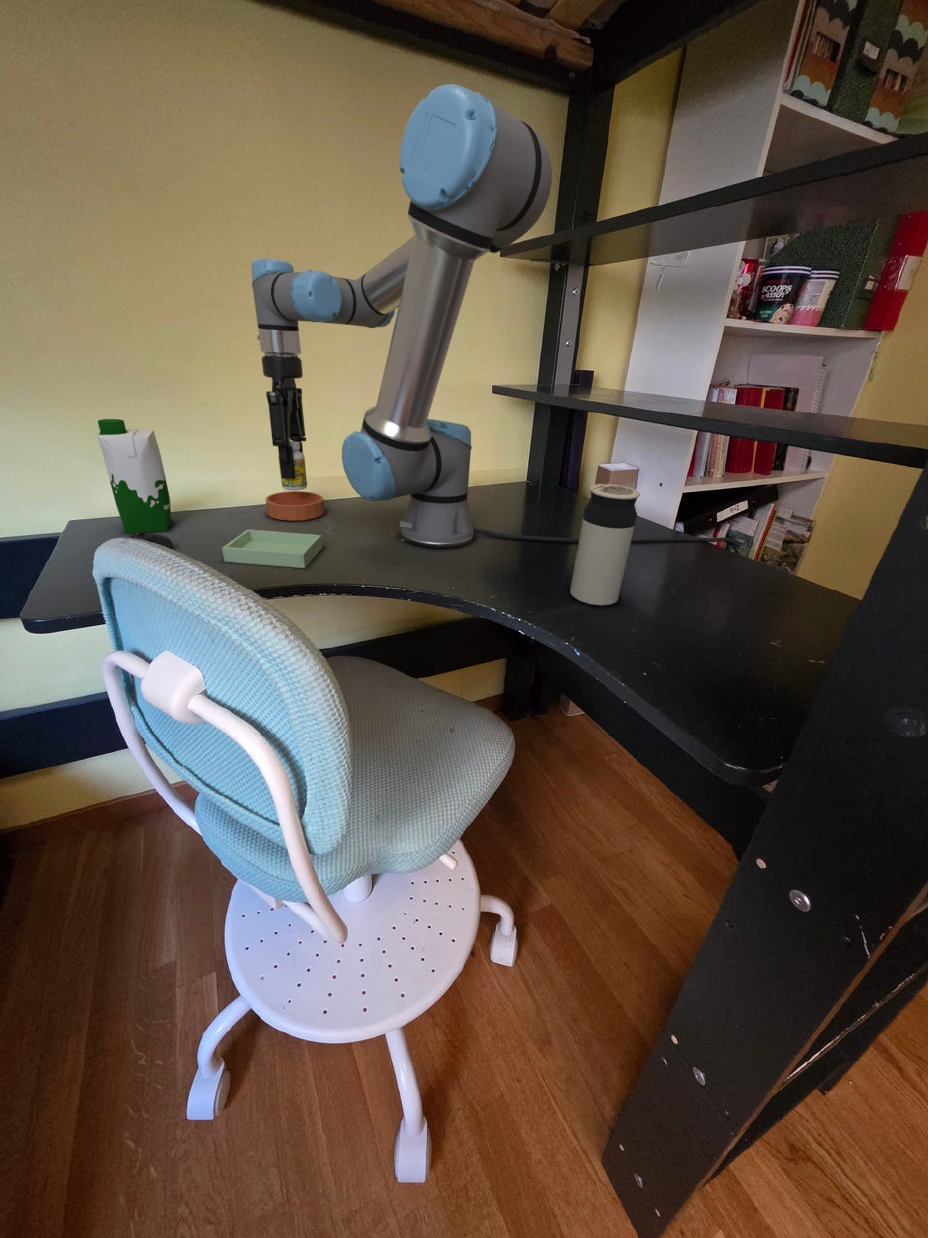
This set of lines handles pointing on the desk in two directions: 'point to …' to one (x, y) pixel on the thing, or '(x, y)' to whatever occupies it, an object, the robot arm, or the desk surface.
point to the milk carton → (135, 476)
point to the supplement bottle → (296, 470)
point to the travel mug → (604, 544)
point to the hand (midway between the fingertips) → (293, 474)
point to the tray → (273, 548)
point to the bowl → (294, 505)
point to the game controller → (153, 538)
